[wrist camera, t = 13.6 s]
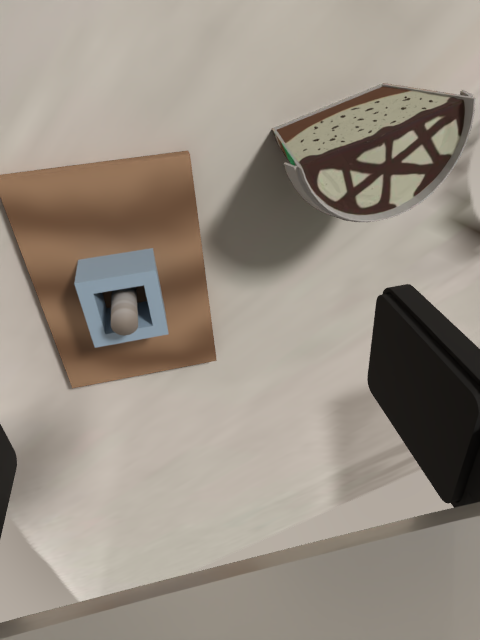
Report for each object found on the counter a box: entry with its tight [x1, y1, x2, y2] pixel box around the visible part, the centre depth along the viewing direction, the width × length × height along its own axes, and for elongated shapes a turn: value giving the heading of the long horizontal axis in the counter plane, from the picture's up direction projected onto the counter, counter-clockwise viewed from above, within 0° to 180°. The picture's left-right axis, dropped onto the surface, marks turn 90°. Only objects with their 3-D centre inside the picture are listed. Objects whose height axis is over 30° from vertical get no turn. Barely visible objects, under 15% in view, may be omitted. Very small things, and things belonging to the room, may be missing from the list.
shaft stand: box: [0, 151, 217, 388], centre depth 37 cm, size 20×14×7 cm
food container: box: [272, 83, 475, 222], centre depth 34 cm, size 12×6×10 cm, turn 108°
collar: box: [74, 248, 169, 348], centre depth 38 cm, size 6×6×4 cm
